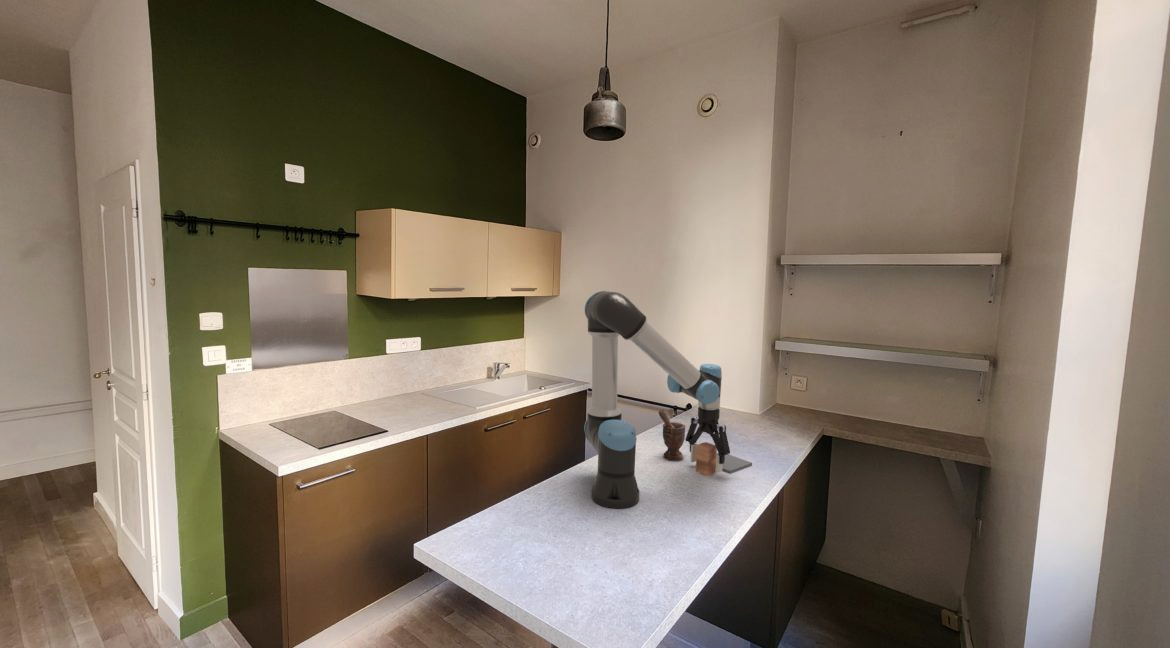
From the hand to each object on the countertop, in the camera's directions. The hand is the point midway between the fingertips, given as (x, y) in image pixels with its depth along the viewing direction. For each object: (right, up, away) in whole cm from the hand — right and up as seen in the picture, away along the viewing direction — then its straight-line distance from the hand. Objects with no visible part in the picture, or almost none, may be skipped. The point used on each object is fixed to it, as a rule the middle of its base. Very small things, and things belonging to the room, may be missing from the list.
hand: (705, 466), depth 171 cm
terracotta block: (0, -2, 0) cm, 2 cm away
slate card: (+10, -1, +9) cm, 13 cm away
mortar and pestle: (-11, -1, +12) cm, 16 cm away
